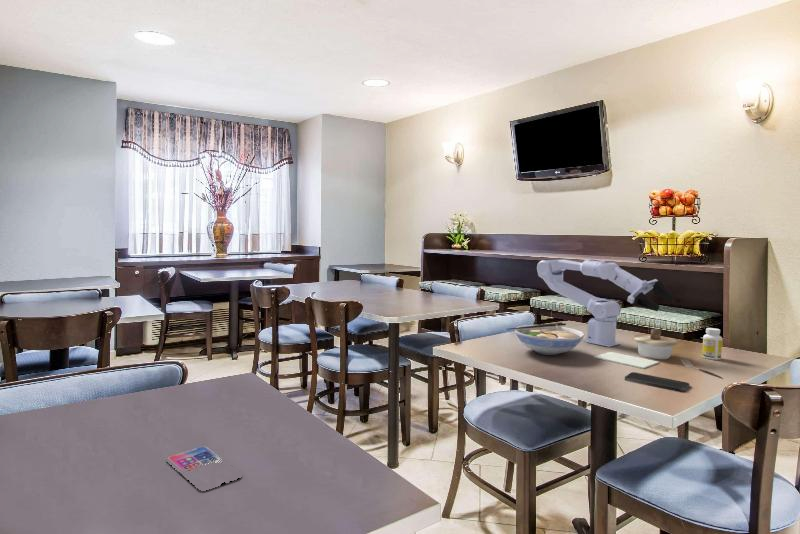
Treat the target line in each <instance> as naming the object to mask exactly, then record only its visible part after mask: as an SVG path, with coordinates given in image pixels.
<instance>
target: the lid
mask: <svg viewBox="0 0 800 534" xmlns="http://www.w3.org/2000/svg"><path fill="white" fill-rule="evenodd" d="M661 335H662V330H661V329H658V328H651V329H650V334H640V335H639V334H638V335H634V337H633V340H635V341H636V342H637V341H639V342H642V343H647V344H653V345H674V346H676V345H678V340H676V338H675V339H674V338H672V337H668V336H661Z"/></svg>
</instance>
